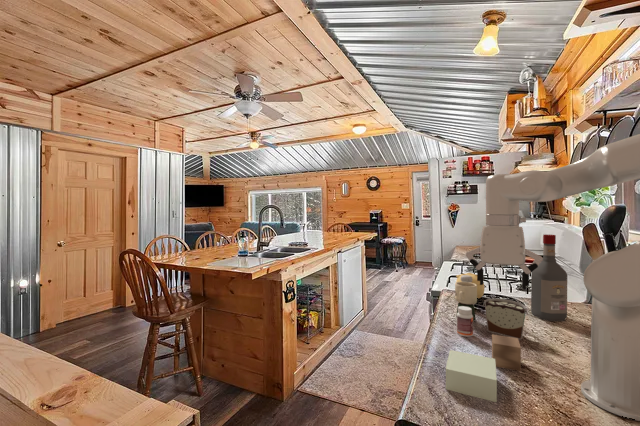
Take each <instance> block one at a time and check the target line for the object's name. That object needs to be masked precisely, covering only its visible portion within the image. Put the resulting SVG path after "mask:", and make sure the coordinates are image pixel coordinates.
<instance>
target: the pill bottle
mask: <svg viewBox="0 0 640 426" xmlns="http://www.w3.org/2000/svg"><path fill="white" fill-rule="evenodd" d="M457 307H458V306H457ZM456 314H457V318H456V334H457V335H459V336H461V337H467V338H470V337H473V336H474V321H473V315H472V309H471V308H470V307H465V306H460V307H458V313H457V312H456Z"/></svg>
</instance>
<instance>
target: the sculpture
mask: <svg viewBox="0 0 640 426" xmlns="http://www.w3.org/2000/svg"><path fill="white" fill-rule="evenodd" d="M462 275H469V276H471V277H472V279H473V281H472V282H471V283H474V284H476V285H477V298H478V299H480V298H482V297H483V296H484V293H485V284H484V283H485V282H484V281H483V285H480V281H477V273H475V274H474V273H472V272H466V273H460V274H456V275H455V277H456V281H455V283H456V282H462V281H461V276H462ZM484 278H485V277H483V280H485V279H484Z"/></svg>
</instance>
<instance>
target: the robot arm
mask: <svg viewBox="0 0 640 426" xmlns="http://www.w3.org/2000/svg"><path fill="white" fill-rule="evenodd" d="M638 179H640V133H639V134H635V135H632V136H629V137H626V138H623V139H620V140H616V141H614V142H610V143H607V144H605V145H603V146H601V147H599V148H597V149H596V150H595V151H594V152H592V153H591V154H590V155H588V156H586V157H584V158H583V159H581V160H578V161H576V162H573V163H571V164H567V165H564V166H561V167H558V168H555V169H552V170H547V171H543V170H534V169H533V170H526V171H521V172H517V173H500V174H492V175H489V176H487V178H486V179H485V180H486V181H485V225H483V226H482V230H481V236H480V246H478V247H476V248H474V249H471V250H469V251H466V253H465V255H466V257H467V260H468V261H469V263H470V264H471V266H472V267H474V268H475V269H476V275H477V281H480V285H483V282H484V279H483V278H484V269H483V267H484V266H486V265H498V266H512V267H516V266H517V267H519V268H520V269H521V270H522V272H521V287H522V290H525V291H526V290H527V287H530V274H531V272H532V271H533V270H535V269H536V268H537V267H538V265H539V264H540V263H541V261H542V260H543V257H542V256H541V255H540V254H537V253H535V252H533V251H532V250H529V249H527V248H526V241H525V235H524V229H523V226H520V224H523V223H526V222H527V218H526V217H525V216H521V215H520V202H530V203H531V202H532V203H538V202H539V203H542V202H543V203H544V202H545V203H547V202H551V201H555V200H559V199H563V198H567V197H572V196H575V195H578V194H582V193H587V192H589V191H593V190H598V189H602V188H606V187H607V188H609V187H613V186H617V185H619V184H623V183H626V182H630V181H636V180H638ZM479 253H480V254H479ZM476 254H479V255H480V261H479V262H478V261H477V260H476V259H475V258H474V255H476ZM526 256H527V257H530V258H531V259H534V260H533V262H532V263H531V264H529V265H528V266H527V264H526ZM582 278H583V284H584V288H585V289H586V291H587V293H588V294H590V296H591V297H592V301H591V321H590V322H591V324H590V379H587V380H584V381H582V382H581V384H580V390H581V394H583V396H584V397H585V398H586V399H587V400H589V402H591V403H593V404H594V405H595V406H598V407H599V408H600V409H603V410H605V411H607V412H610V413H612V414H613V415H616V416H620V417H622V416H623V418H625V417H627V418H626V419H629V418H633V419H635V420H634V421H636V422H637V421H638V422H640V240H638V241H636V242H634V243H632V244H630V245H627V246H625V247H623V248H621V249H617V250H613V251H610V252H606V253H604V254H602V255H600V256H599V257H597V258H596V259H595V260H592V261H591V262H590V263H589V264H588V265H587V267H586V269H585V270H584V273H583V277H582Z"/></svg>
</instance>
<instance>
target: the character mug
mask: <svg viewBox="0 0 640 426" xmlns="http://www.w3.org/2000/svg"><path fill="white" fill-rule="evenodd" d="M454 284H455V285H454V291H455V294H454V300H455V301H456V302H457V303H458V304H457V309H456V313H455V314H456V315H455V317H456V319H457V313H458V307H460V306H465V307H470V308H471V309H472V315H473V322H475V321H476V318H477V317H476V312H475V311H476V310H475V304H477V302H478V299H477V285H476V284H474V283H470V282H456V281H455V283H454ZM473 304H474V306H473Z"/></svg>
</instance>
